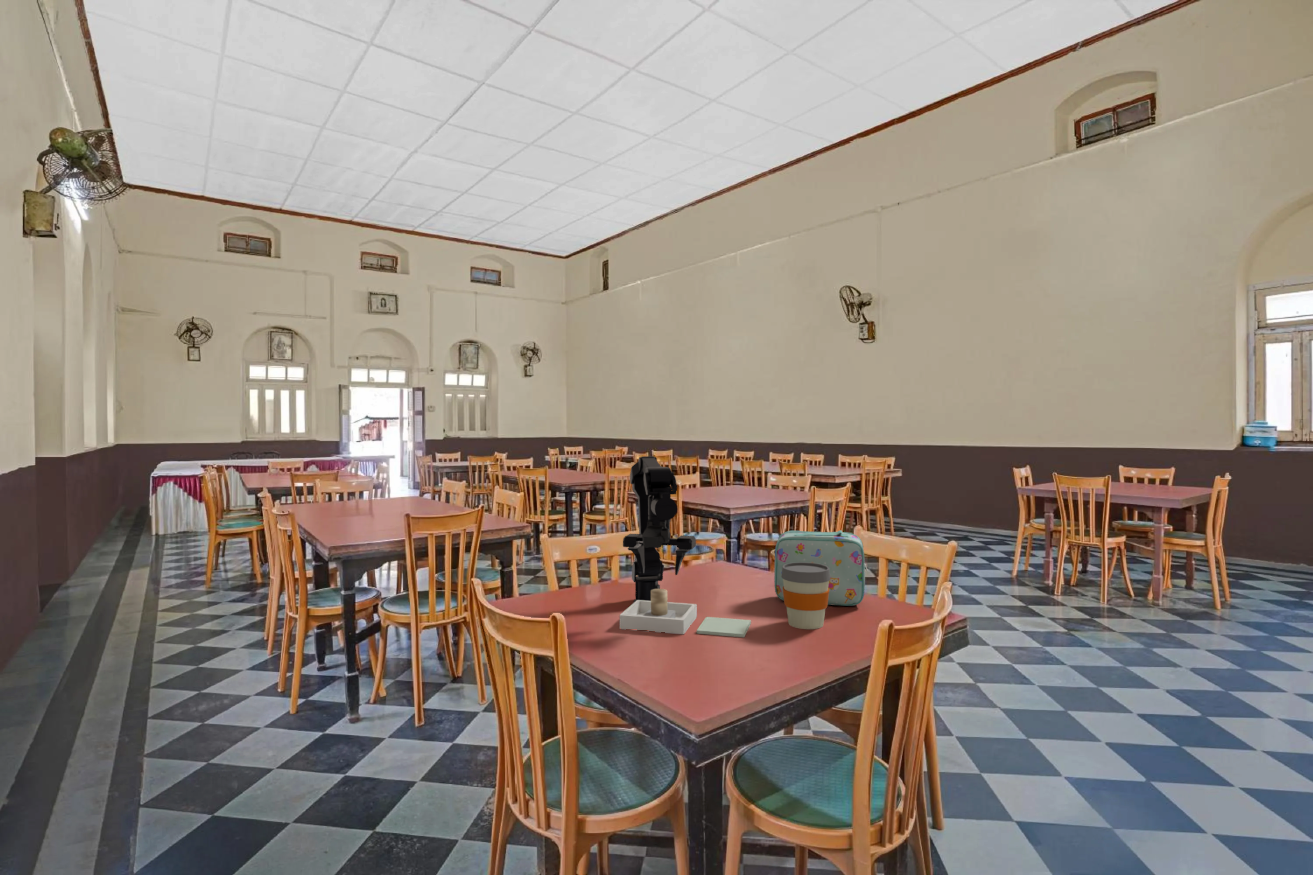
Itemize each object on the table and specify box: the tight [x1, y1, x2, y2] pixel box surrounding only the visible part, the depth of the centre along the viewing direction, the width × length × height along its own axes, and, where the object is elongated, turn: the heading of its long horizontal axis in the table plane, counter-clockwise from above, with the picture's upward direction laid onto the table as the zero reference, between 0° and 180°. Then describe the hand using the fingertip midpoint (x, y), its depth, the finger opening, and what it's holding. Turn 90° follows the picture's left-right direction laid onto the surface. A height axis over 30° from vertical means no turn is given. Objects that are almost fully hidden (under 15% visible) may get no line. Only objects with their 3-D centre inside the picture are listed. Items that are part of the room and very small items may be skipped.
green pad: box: [696, 616, 752, 638], centre depth 171 cm, size 12×12×1 cm
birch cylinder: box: [651, 588, 668, 616], centre depth 176 cm, size 4×4×6 cm
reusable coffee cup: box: [781, 562, 830, 630], centre depth 174 cm, size 13×13×15 cm
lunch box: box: [773, 529, 869, 607], centre depth 195 cm, size 27×10×21 cm, turn 74°
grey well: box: [619, 600, 698, 635], centre depth 176 cm, size 17×15×4 cm
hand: (659, 573), depth 176 cm, fingers open, 9 cm apart
